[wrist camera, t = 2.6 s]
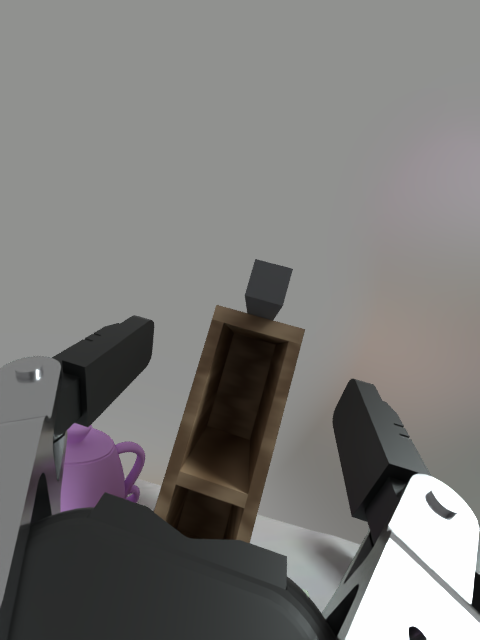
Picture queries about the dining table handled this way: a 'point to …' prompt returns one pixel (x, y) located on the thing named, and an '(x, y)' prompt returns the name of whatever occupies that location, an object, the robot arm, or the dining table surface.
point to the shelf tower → (229, 427)
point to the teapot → (96, 468)
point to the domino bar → (267, 289)
